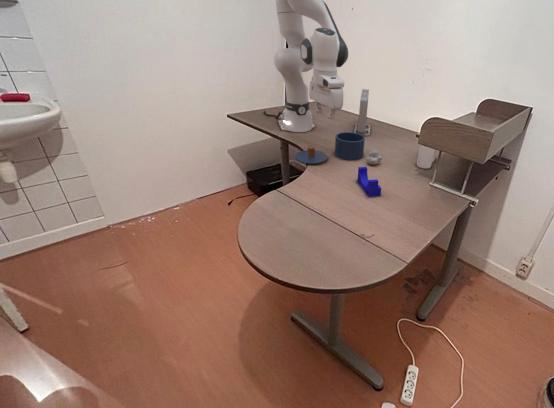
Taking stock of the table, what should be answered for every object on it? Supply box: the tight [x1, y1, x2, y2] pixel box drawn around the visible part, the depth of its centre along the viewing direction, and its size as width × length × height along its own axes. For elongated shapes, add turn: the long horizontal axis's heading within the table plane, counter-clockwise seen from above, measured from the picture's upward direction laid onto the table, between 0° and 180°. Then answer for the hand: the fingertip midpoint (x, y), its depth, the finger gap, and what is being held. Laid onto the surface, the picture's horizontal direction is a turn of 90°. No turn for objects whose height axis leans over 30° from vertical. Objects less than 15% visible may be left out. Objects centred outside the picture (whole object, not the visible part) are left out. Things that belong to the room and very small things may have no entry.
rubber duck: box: [366, 146, 383, 166], centre depth 127 cm, size 5×7×8 cm
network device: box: [353, 88, 371, 137], centre depth 163 cm, size 26×9×20 cm, turn 178°
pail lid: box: [294, 145, 328, 165], centre depth 127 cm, size 14×14×5 cm
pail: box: [334, 131, 366, 161], centre depth 133 cm, size 13×13×8 cm
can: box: [416, 144, 435, 170], centre depth 128 cm, size 6×6×12 cm
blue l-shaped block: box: [356, 166, 382, 198], centre depth 108 cm, size 12×4×6 cm, turn 21°
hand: (325, 115), depth 118 cm, fingers open, 8 cm apart
